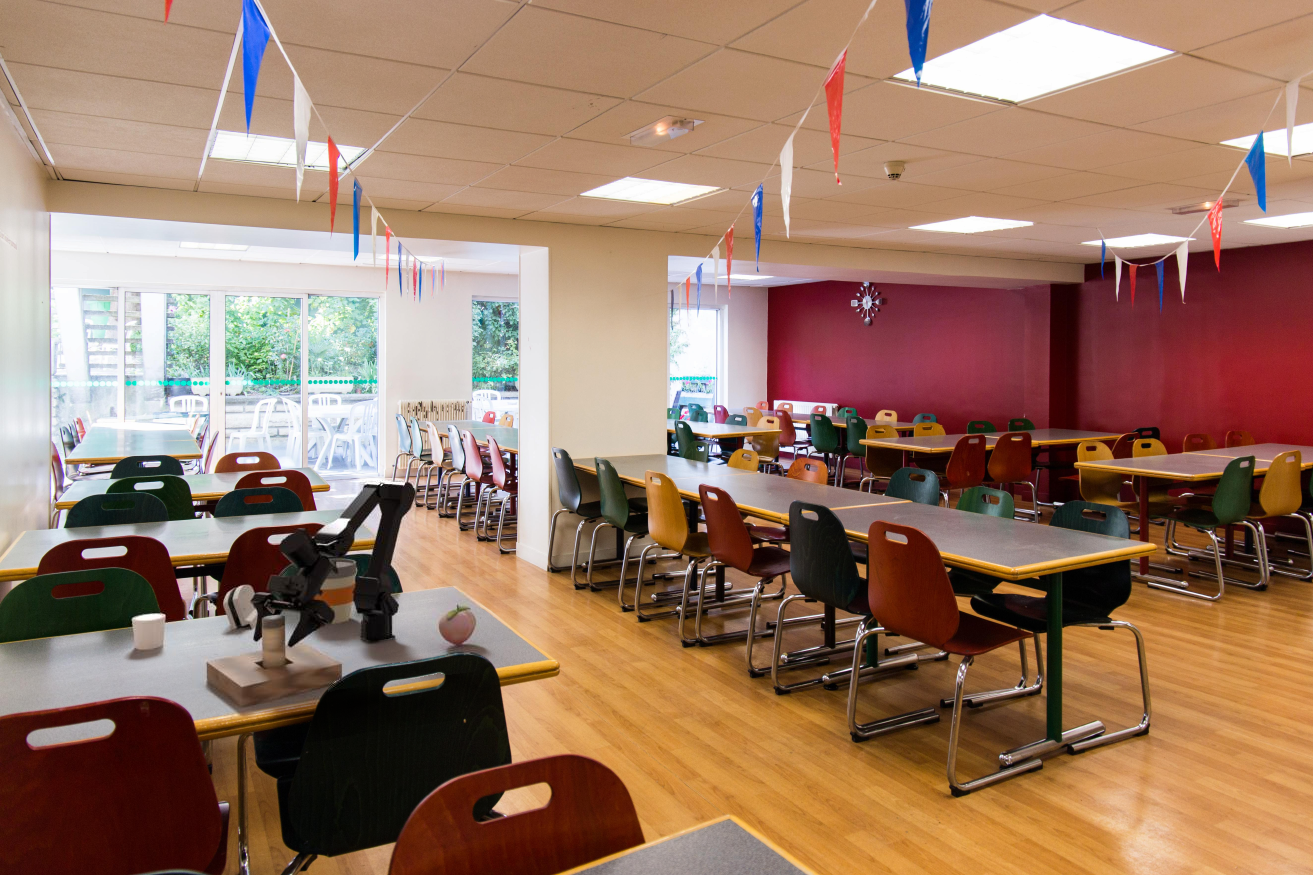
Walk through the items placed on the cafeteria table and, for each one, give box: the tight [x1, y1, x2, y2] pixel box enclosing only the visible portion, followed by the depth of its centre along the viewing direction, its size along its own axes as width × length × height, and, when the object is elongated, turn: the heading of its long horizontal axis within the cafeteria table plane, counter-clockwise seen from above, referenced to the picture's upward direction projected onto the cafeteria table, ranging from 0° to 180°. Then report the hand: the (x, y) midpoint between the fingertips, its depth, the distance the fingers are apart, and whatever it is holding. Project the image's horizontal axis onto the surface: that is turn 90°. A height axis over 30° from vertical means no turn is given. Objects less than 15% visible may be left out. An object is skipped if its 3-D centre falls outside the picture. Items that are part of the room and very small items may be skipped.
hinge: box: [222, 584, 257, 630], centre depth 223 cm, size 17×5×10 cm, turn 13°
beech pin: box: [261, 614, 286, 669], centre depth 179 cm, size 4×4×13 cm
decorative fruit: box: [438, 604, 477, 646], centre depth 205 cm, size 9×8×10 cm
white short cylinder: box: [131, 612, 166, 651], centre depth 201 cm, size 7×7×7 cm
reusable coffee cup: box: [315, 558, 358, 625], centre depth 225 cm, size 13×13×15 cm
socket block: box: [206, 641, 343, 708], centre depth 179 cm, size 20×20×4 cm
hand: (271, 643), depth 178 cm, fingers open, 9 cm apart
